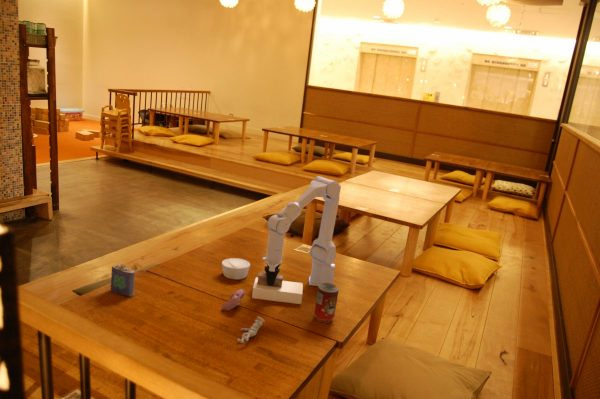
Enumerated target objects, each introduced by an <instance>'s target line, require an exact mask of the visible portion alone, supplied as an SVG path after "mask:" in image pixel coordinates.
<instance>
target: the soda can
mask: <svg viewBox="0 0 600 399" xmlns="http://www.w3.org/2000/svg"><path fill="white" fill-rule="evenodd" d="M339 290H340V289H339V287H338V286H336V285H335V284H330V283H323V284H320V285H319V286H317V291H316V292H317V293H316V300H315V306H314V316H315V320H316V321H318V322H321V323H325V324H327V323H330V322H332V321H333V319H334V317H335V315H336V308H337V302H338V296H339Z"/></svg>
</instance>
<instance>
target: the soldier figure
mask: <svg viewBox="0 0 600 399" xmlns="http://www.w3.org/2000/svg"><path fill="white" fill-rule="evenodd" d="M256 317H257V319H254V321H255V322H254V323H253V324H252V326H250V327H249V328H246V327H245V328H244V327H242V328H240V331H241V332H243V331H245V332H243V333H242V335H241V339H240V338H238V337H237V339H236V340H237V341H238V343H240V344H244V342H245V341H246V342H248V341H249V338H252V337H254V336H256V335H257V334H258V330H259V329H260V328H261V326H263V323H265V322H266V320H265V319H264V317H263V318H262V317H260V316H256Z"/></svg>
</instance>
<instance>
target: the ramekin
mask: <svg viewBox="0 0 600 399" xmlns="http://www.w3.org/2000/svg"><path fill="white" fill-rule="evenodd" d="M221 267H222V274H223V276H224V277H225V278H227V279H230V280H236V281H238V280H242V279H243V280H244V279H245V278H246V277H247V276H248V273H249V270H250V268H251V263H250V262H249V261H248V260H246V259H243V258H237V257H236V258H235V257H233V258H230V257H229V258H226V259H224V260H222V262H221Z"/></svg>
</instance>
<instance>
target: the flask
mask: <svg viewBox="0 0 600 399" xmlns="http://www.w3.org/2000/svg"><path fill="white" fill-rule="evenodd" d="M126 266H127V264H126V263H124V264H123V263H121V264H118V265H112V266H111V278H110V290H109V292H111V293H113V294H115V295H120V296H122V297H128V298H132V297H134V295H135V276H136V271H135V270H133V269H132V270H131V269H129V268H126Z"/></svg>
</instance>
